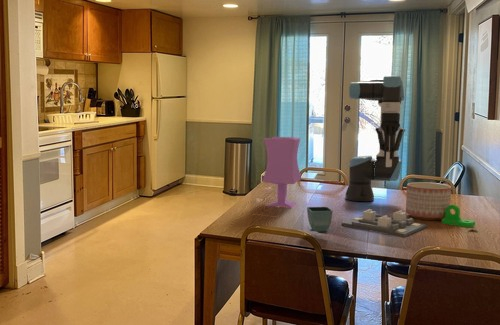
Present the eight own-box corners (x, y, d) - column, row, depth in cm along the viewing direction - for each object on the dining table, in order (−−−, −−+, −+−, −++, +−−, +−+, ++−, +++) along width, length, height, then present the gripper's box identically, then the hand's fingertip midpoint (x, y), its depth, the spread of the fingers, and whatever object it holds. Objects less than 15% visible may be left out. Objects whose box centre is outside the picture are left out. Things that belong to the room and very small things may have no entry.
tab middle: (362, 220, 206) (362, 209, 205) (366, 219, 209) (367, 208, 208) (370, 222, 203) (371, 211, 203) (375, 220, 206) (375, 209, 206)
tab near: (377, 227, 194) (377, 216, 193) (382, 225, 197) (382, 214, 196) (386, 229, 191) (387, 217, 191) (391, 227, 194) (391, 216, 193)
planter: (429, 223, 208) (430, 189, 207) (396, 214, 225) (398, 183, 224) (458, 218, 217) (460, 186, 216) (425, 211, 234) (427, 181, 233)
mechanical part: (441, 223, 208) (442, 205, 207) (446, 221, 213) (447, 203, 212) (470, 228, 200) (471, 209, 199) (474, 225, 205) (476, 207, 204)
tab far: (392, 221, 204) (393, 210, 204) (396, 220, 207) (397, 209, 206) (401, 223, 201) (402, 212, 201) (405, 221, 204) (406, 210, 204)
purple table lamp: (271, 202, 253) (272, 136, 249) (300, 204, 248) (301, 137, 244) (262, 207, 238) (263, 138, 235) (293, 210, 233) (294, 139, 230)
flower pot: (306, 228, 198) (306, 206, 197) (327, 227, 198) (327, 206, 198) (310, 233, 189) (311, 211, 188) (332, 233, 190) (332, 210, 189)
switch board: (341, 225, 203) (341, 217, 202) (366, 217, 219) (366, 210, 219) (404, 237, 184) (404, 229, 184) (426, 227, 200) (426, 219, 200)
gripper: (372, 112, 206) (370, 166, 209) (401, 112, 197) (399, 168, 200) (380, 112, 211) (378, 164, 214) (409, 112, 203) (406, 167, 206)
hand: (388, 166), depth 207 cm, fingers closed
